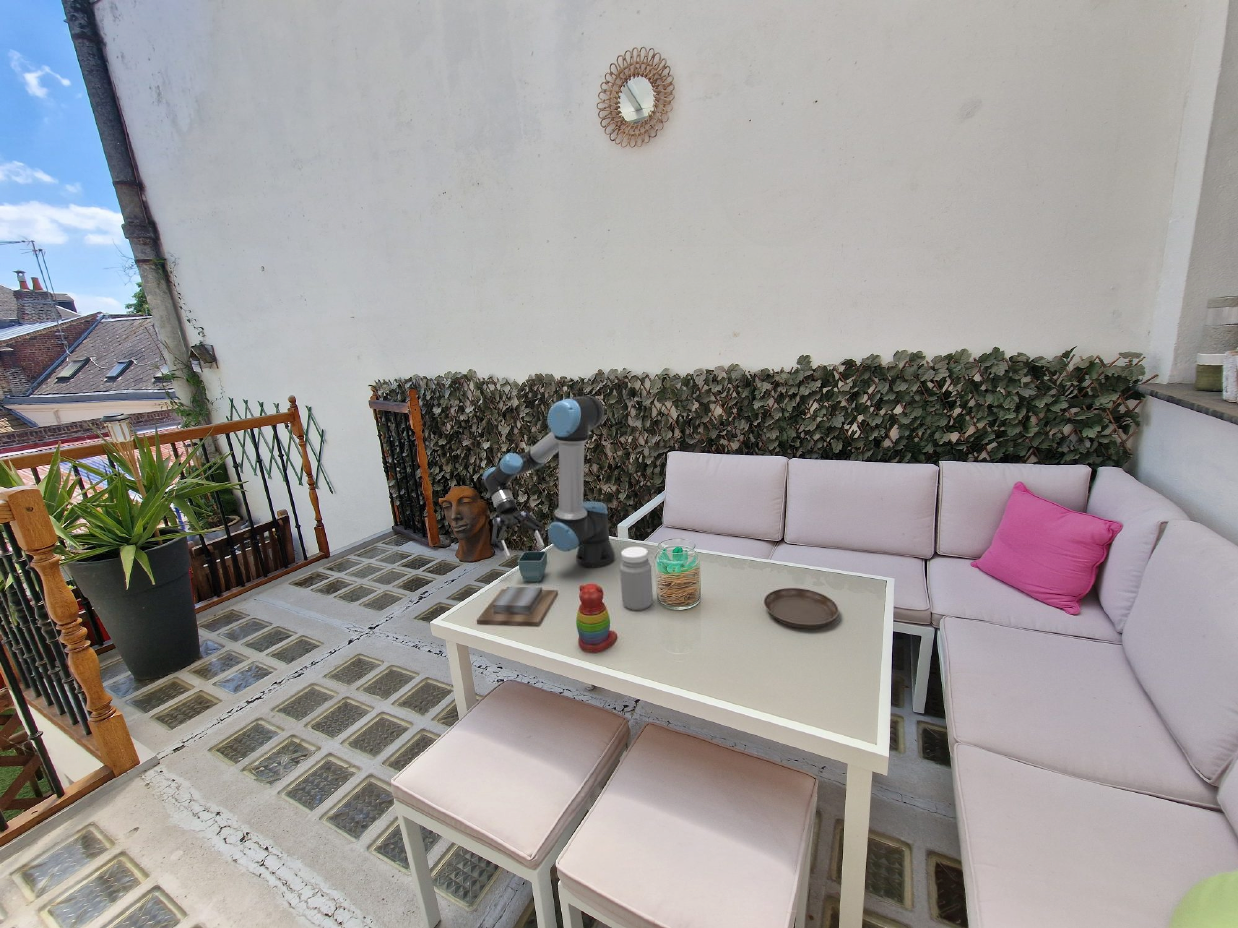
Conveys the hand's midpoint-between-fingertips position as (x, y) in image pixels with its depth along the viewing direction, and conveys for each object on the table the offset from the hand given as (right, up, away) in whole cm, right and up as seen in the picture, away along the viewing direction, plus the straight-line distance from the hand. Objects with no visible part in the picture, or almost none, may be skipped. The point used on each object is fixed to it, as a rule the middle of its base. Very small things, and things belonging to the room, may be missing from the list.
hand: (525, 552), depth 185 cm
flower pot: (+4, -10, -1) cm, 10 cm away
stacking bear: (+28, -18, -43) cm, 54 cm away
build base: (+2, -14, -21) cm, 26 cm away
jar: (+40, -13, -23) cm, 48 cm away
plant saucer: (+88, -12, -35) cm, 95 cm away
